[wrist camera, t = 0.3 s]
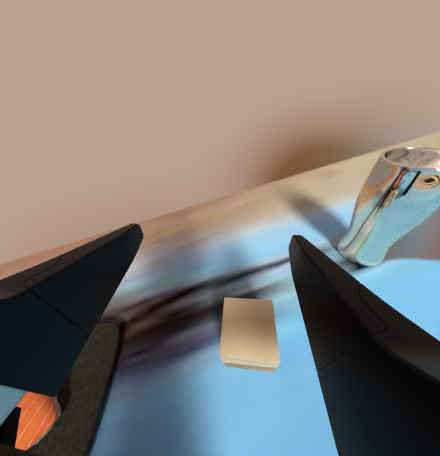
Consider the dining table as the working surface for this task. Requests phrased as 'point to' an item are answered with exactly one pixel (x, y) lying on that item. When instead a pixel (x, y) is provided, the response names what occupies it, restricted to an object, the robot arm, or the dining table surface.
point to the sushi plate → (71, 401)
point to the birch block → (249, 335)
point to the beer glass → (392, 202)
